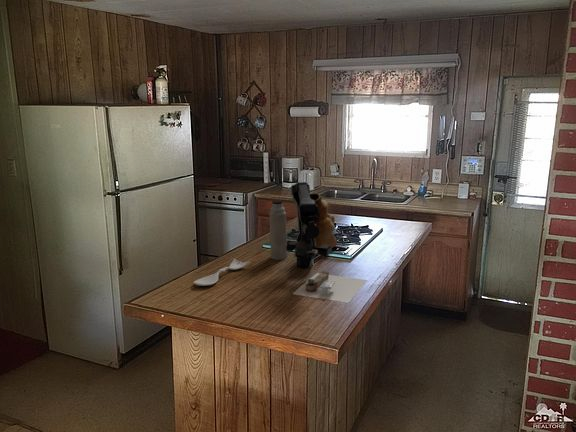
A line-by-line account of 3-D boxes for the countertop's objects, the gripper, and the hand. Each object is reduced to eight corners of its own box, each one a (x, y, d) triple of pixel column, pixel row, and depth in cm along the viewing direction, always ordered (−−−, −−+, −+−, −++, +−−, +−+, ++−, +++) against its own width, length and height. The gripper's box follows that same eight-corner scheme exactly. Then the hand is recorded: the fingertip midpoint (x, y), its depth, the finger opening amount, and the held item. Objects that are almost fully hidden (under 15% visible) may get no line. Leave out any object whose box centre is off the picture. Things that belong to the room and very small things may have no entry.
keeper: (317, 294, 189) (317, 286, 188) (325, 287, 196) (324, 279, 195) (330, 296, 187) (330, 287, 186) (337, 289, 194) (337, 281, 193)
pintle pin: (307, 284, 192) (307, 280, 192) (309, 282, 194) (309, 278, 194) (312, 285, 191) (312, 281, 191) (315, 283, 193) (315, 279, 193)
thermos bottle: (274, 254, 243) (272, 199, 236) (289, 255, 240) (287, 199, 234) (268, 259, 236) (266, 202, 229) (284, 260, 233) (282, 203, 226)
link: (314, 292, 191) (314, 287, 190) (303, 290, 192) (303, 286, 192) (331, 276, 207) (331, 272, 206) (321, 275, 209) (321, 270, 208)
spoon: (250, 267, 225) (250, 260, 224) (206, 291, 198) (205, 283, 198) (235, 264, 230) (234, 257, 229) (189, 287, 203) (188, 279, 202)
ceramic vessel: (343, 246, 252) (343, 189, 245) (322, 258, 235) (322, 197, 228) (316, 242, 261) (315, 187, 254) (295, 253, 243) (293, 194, 236)
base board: (292, 295, 191) (292, 293, 191) (316, 274, 213) (316, 273, 212) (348, 304, 181) (348, 302, 181) (367, 282, 203) (367, 280, 203)
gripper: (279, 234, 200) (280, 270, 204) (321, 239, 192) (322, 276, 196) (291, 228, 210) (292, 262, 213) (331, 232, 202) (332, 267, 205)
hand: (308, 267), depth 207 cm, fingers closed
